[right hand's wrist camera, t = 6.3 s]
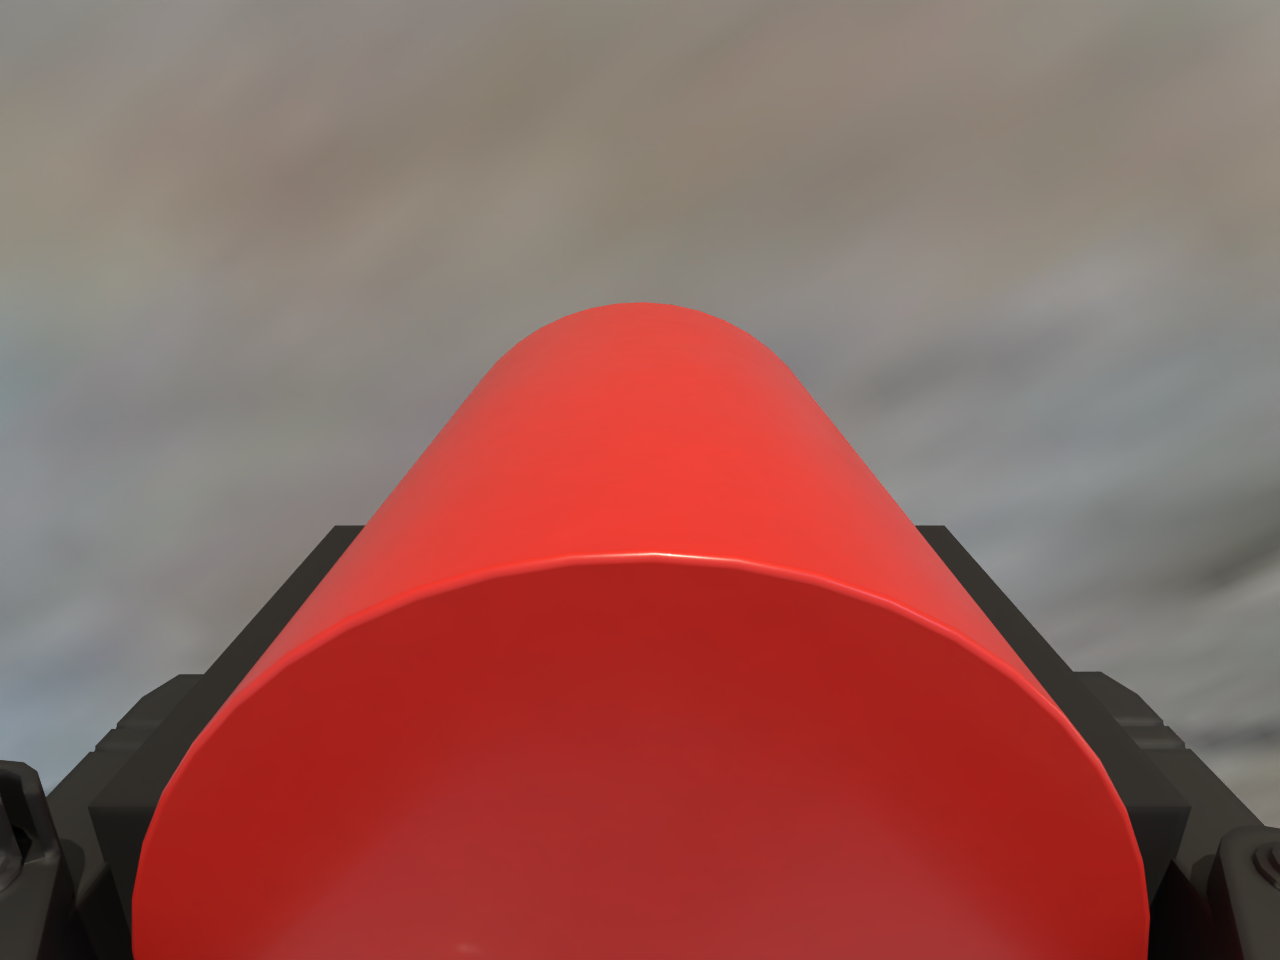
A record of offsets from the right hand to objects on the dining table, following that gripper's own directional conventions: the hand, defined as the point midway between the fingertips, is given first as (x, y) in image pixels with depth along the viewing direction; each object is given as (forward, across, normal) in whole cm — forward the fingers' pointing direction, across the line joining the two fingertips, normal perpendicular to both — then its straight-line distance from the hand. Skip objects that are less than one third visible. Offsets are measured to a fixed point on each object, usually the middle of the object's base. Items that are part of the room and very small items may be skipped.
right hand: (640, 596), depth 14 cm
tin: (+5, 0, 0) cm, 5 cm away
